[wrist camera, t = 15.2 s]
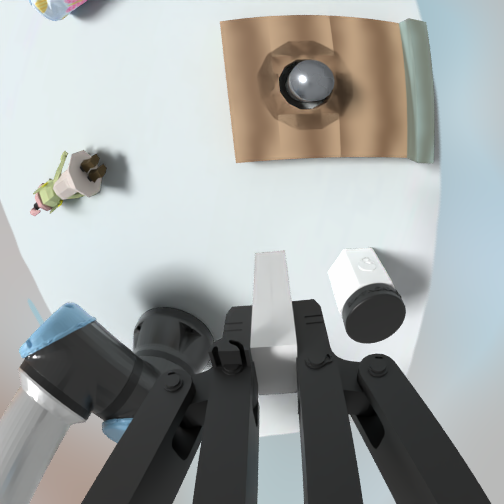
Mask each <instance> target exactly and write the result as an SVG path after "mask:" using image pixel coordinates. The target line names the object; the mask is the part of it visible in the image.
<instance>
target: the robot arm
mask: <svg viewBox="0 0 504 504" xmlns="http://www.w3.org/2000/svg"><path fill="white" fill-rule="evenodd" d="M19 353H20V354H21V357H22V358H25V360H24V361H23V363H22V364H21V366H20V367H19V375H20V380H21V386H20V388H19V389H18V391H17V392H16V394H15V396H14V397H13V399H12V401H11V402H10V404H9V406H8V407H7V409H6V411H5V413H4V415H3V416H2V418H1V420H0V504H29V503H30V501H31V499H32V496H33V495H34V492H35V490H36V489H37V487H38V484H39V483H40V481H41V479H42V477H43V475H44V473H45V471H46V469H47V467H48V465H49V464H50V462H51V460H52V458H53V456H54V454H55V452H56V451H57V449H58V447H59V445H60V443H61V441H62V440H63V438H64V436H65V434H66V433H67V431H68V429H69V428H70V426H71V425H72V424H76V423H83V422H86V420H87V419H88V417H89V416H90V414H91V413H94V414H95V415H97V416H98V417H100V418H101V419H103V420H104V422H103V423H102V430H103V433H104V434H105V435H107V437H108V438H110V439H111V440H113V441H115V442H116V443H117V445H116V447H115V448H114V450H113V452H112V453H111V455H110V457H109V458H108V460H107V462H106V463H105V465H104V467H103V468H102V470H101V472H100V473H99V475H98V476H97V478H96V480H95V481H94V483H93V485H92V486H91V488H90V490H89V491H88V493H87V495H86V496H85V498H84V500H83V501H82V503H81V504H172V503H173V501H174V499H175V497H176V495H177V493H178V491H179V488H180V486H181V484H182V482H183V480H184V478H185V476H186V473H187V471H188V469H189V467H190V465H191V463H192V460H193V458H194V456H195V454H196V452H197V449H198V447H199V445H200V443H201V448H200V455H199V461H198V469H197V475H196V483H195V489H194V496H193V504H257V493H258V452H259V403H258V393H259V395H269V394H284V393H296V392H298V414H299V424H300V437H301V453H302V469H303V488H304V504H363V499H362V493H361V486H360V479H359V473H358V467H357V461H356V455H355V449H354V444H353V438H352V432H351V427H350V422H349V417H348V414H350V415H351V417H352V419H353V421H354V423H355V424H356V426H357V428H358V430H359V432H360V434H361V436H362V438H363V440H364V442H365V444H366V446H367V447H368V449H369V451H370V453H371V455H372V457H373V459H374V461H375V463H376V465H377V466H378V468H379V470H380V472H381V474H382V476H383V478H384V480H385V482H386V484H387V486H388V488H389V490H390V492H391V494H392V495H393V498H394V499H395V502H396V504H491V503H490V501H489V499H488V498H487V496H486V494H485V493H484V491H483V489H482V488H481V486H480V484H479V483H478V482H477V480H476V478H475V477H474V475H473V473H472V472H471V470H470V469H469V467H468V466H467V464H466V463H465V461H464V459H463V458H462V456H461V455H460V454H459V452H458V450H457V449H456V447H455V446H454V444H453V443H452V441H451V440H450V439H449V437H448V436H447V434H446V433H445V431H444V430H443V428H442V427H441V425H440V424H439V422H438V421H437V420H436V418H435V417H434V415H433V414H432V412H431V411H430V410H429V408H428V407H427V405H426V404H425V403H424V401H423V400H422V398H421V397H420V396H419V394H418V393H417V392H416V390H415V389H414V387H413V386H412V385H411V383H410V382H409V381H408V379H407V378H406V376H405V375H404V374H403V372H402V371H401V370H400V368H399V367H398V366H397V364H396V363H395V362H394V361H393V360H392V359H391V358H390V357H388V356H386V355H383V354H372V355H368V356H367V357H365V358H363V359H362V361H361V362H353V361H347V360H343V359H341V358H339V357H337V356H336V355H335V354H334V353H333V352H332V350H331V348H330V344H329V340H328V335H327V331H326V327H325V323H324V319H323V315H322V311H321V307H320V305H319V304H318V303H317V302H316V301H315V300H314V299H311V300H301V301H292V300H291V292H290V285H289V277H288V270H287V263H286V255H285V250H284V251H273V252H262V253H255V265H254V285H253V305H251V306H237V307H232V308H231V309H230V310H229V312H228V313H227V314H226V320H225V326H224V332H223V338H222V339H220V340H218V341H216V342H215V343H214V342H213V338H212V335H211V333H210V331H209V330H208V328H207V327H206V326H205V325H204V324H203V323H202V322H201V321H200V320H198V319H197V318H195V317H194V316H192V315H190V314H188V313H186V312H184V311H181V310H177V309H173V308H155V309H151V310H149V311H147V312H145V313H144V314H143V315H142V316H141V317H140V319H139V320H138V322H137V324H136V326H135V329H134V336H133V352H132V351H131V350H130V349H129V348H127V347H126V346H125V345H124V344H122V343H121V342H120V341H119V340H118V339H117V338H115V337H114V336H113V335H112V334H111V333H110V332H108V331H107V330H106V329H105V328H104V327H103V326H102V325H100V324H99V323H98V322H97V321H96V318H95V317H92V316H90V315H89V314H88V313H87V312H86V311H84V310H83V309H82V308H81V307H80V306H79V305H77V304H75V303H66V304H64V305H63V306H61V307H60V308H59V309H58V310H57V311H56V312H54V313H53V314H52V315H51V316H50V317H49V318H48V319H47V320H46V321H45V322H44V323H43V324H42V325H41V326H40V327H39V328H38V329H37V330H36V331H35V332H34V333H33V334H32V335H31V337H30V338H29V339H28V340H27V341H26V342H25V343H24V344H23V345H22V346H21V347H20V349H19ZM210 360H211V363H212V366H213V367H212V368H211V369H209V370H207V371H205V372H202V371H203V369H204V368H205V366H206V365H207V364H208V362H209V361H210ZM201 372H202V373H201Z"/></svg>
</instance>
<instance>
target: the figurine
mask: <svg viewBox="0 0 504 504" xmlns="http://www.w3.org/2000/svg"><path fill="white" fill-rule="evenodd" d="M67 155H68V153H67V152H66V151H64V152H63V154H62V156H61V163H60V165H59V167H58V169H57V171H56V174H55V177H54V180H52V179H49V181H47V182H46V183H42V184H41V185H40V186H39V188H38V189H37V190H36V191H35V192H34V193H33V194H36V196H35V200H36V203H35V204H34V208H33V209H31V211H30V214H32V215H33V216H36V215H37V214H39V213H40V210H38V209H39V208H42V209H44V210H46V211H48V210H51V211H50V214H51V213H52V212H53V211H54V210H55V209H56V208H57V207H59V206H60V205H61V204H62V202H63V200H64V199H73V198H80V197H83V196H87V197H91V196H93V195H96V194H97V193H98V192H100V189H101V181H102V177H103V176H104V175H105V173H106V169H107V168H106V167H105V165H104V164H102V165H101V166H99V167H98V165H97V164H98V162H99V159H100V158H99V157H98V155H97V154H95V155H94V156H91V155H89V154H88V153H87V152H85V151H84V150H82V151H80V152H77V153H74V154H72V156H71V159H70V163H69V167H68V170H66V171H65V172H64V173H62V174H61V171H62V168H63V165H64V162H65V159H66V157H67ZM61 199H63V200H61ZM61 201H62V202H61Z"/></svg>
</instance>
